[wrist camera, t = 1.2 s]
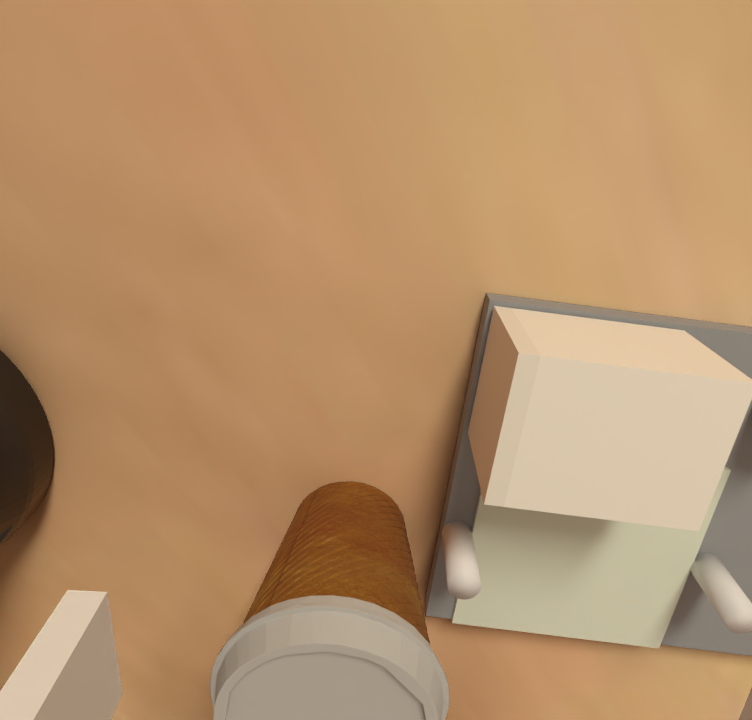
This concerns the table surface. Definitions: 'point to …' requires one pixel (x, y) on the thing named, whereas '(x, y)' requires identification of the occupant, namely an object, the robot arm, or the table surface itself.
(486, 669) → the table surface
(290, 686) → the disposable coffee cup
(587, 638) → the board
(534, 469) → the block
